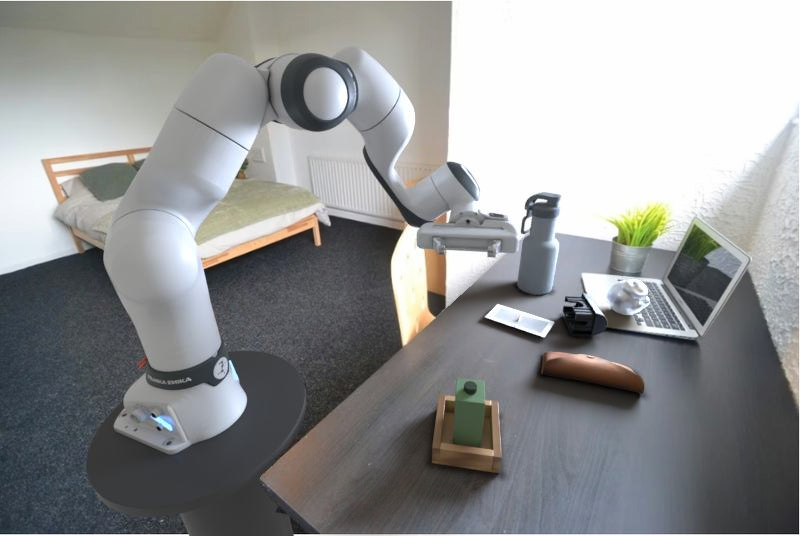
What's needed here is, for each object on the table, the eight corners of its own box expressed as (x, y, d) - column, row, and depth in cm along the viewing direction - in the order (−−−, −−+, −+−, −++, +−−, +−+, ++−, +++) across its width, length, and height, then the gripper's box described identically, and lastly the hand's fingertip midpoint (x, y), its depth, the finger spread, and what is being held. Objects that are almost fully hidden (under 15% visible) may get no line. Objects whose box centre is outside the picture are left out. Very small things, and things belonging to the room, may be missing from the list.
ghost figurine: (610, 321, 93) (619, 286, 89) (599, 302, 102) (607, 269, 98) (650, 324, 92) (661, 288, 88) (635, 305, 100) (644, 271, 96)
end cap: (604, 339, 87) (610, 314, 84) (572, 337, 88) (577, 312, 85) (589, 315, 96) (595, 292, 93) (561, 314, 97) (565, 291, 94)
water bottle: (509, 287, 111) (520, 194, 99) (526, 276, 117) (539, 188, 105) (540, 299, 104) (556, 201, 92) (557, 287, 110) (574, 194, 98)
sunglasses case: (633, 367, 77) (644, 354, 72) (635, 400, 74) (647, 390, 68) (541, 351, 83) (545, 338, 77) (539, 381, 79) (542, 371, 74)
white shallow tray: (497, 307, 101) (498, 300, 100) (554, 325, 92) (555, 318, 91) (484, 320, 95) (485, 313, 94) (543, 341, 87) (545, 333, 86)
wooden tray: (431, 463, 59) (432, 447, 57) (438, 408, 69) (439, 394, 68) (499, 473, 57) (501, 457, 56) (496, 415, 67) (498, 401, 66)
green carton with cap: (452, 446, 61) (455, 395, 56) (454, 422, 66) (456, 372, 61) (480, 450, 60) (485, 398, 56) (480, 425, 65) (485, 376, 60)
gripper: (420, 212, 82) (410, 234, 70) (516, 215, 78) (524, 239, 66) (420, 239, 85) (410, 264, 73) (513, 243, 81) (520, 271, 69)
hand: (465, 252), depth 69 cm, fingers open, 8 cm apart
